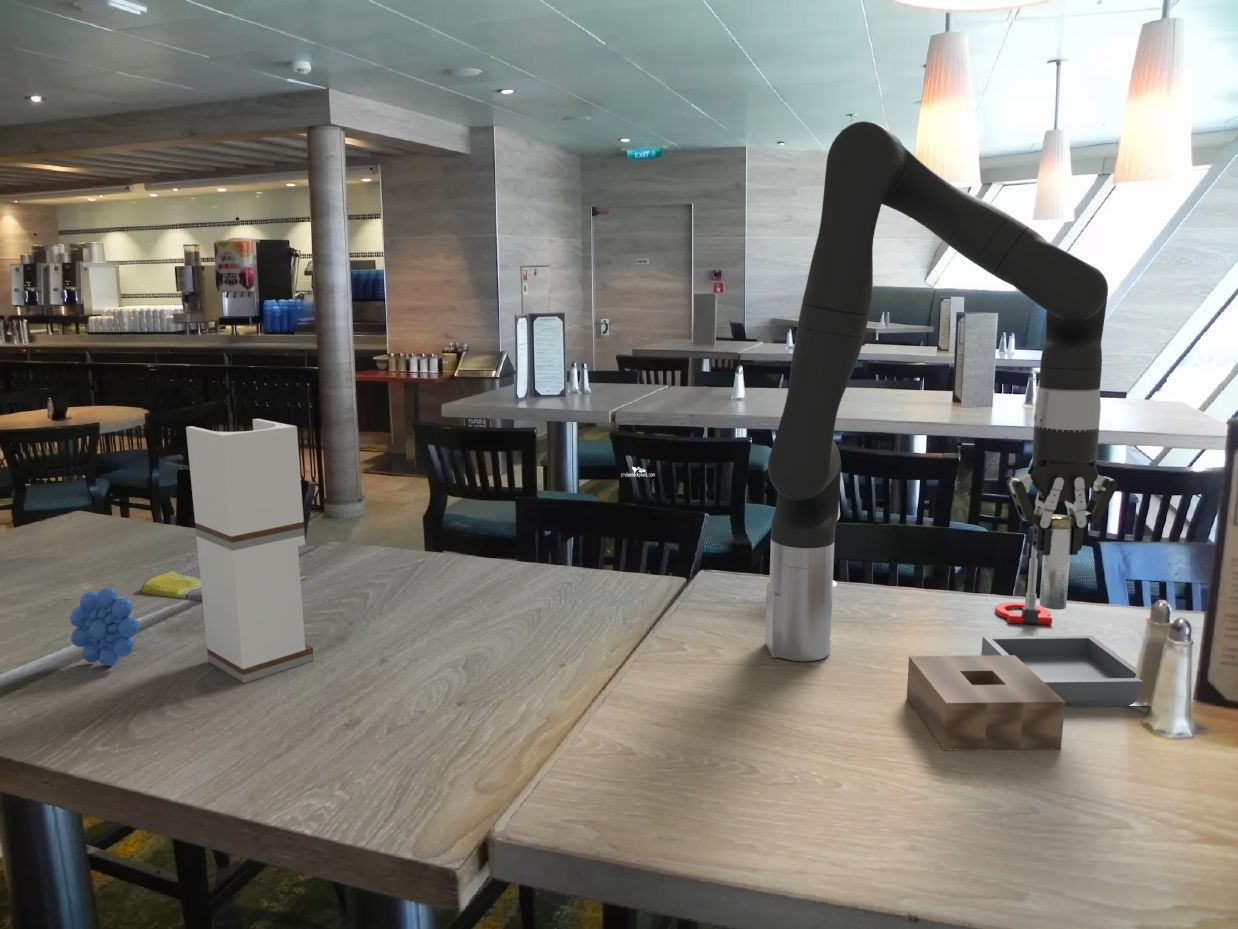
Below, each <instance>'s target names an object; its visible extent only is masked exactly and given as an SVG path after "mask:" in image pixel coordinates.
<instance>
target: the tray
mask: <svg viewBox="0 0 1238 929" xmlns="http://www.w3.org/2000/svg"><path fill="white" fill-rule="evenodd" d="M981 639H982V640H981V652H980V654H981V655H980V656H989V655H1015V656H1016V657H1017V658H1018V659H1019V660H1020V661H1022V662H1023V663H1024V664H1025V665H1026V666H1027V667H1028V668H1029V669H1030V670H1031V671H1032V672H1033V673H1035V674H1036V675H1037V676H1038V677H1039V678H1040V679H1041V680H1042V681H1043V682H1044V683H1045V684H1046V685H1048V686H1049V687H1050V688H1051V689H1052V690H1053V691H1054V692H1055V693H1056V694H1057V695H1058V696H1059V697H1061V698H1062V699H1063V700H1064V701H1065V708H1110V707H1113V708H1115V707H1116V708H1117V707H1125V708H1126V707H1128V706H1129V705H1131V704H1133V703H1134V702H1135V700H1136V699H1137V697H1138V696H1139V693H1140V690H1141V689H1142V688H1141V687H1142V684H1143V681H1142V680H1140V679H1138V678H1135V676H1136V668H1137V667H1135V666H1134V665H1132V664H1131V663H1130V662H1128V661H1127V660H1125V658H1123V657H1122V656H1120V655H1119V654H1117V652H1115V651H1114V650H1113V649H1111V648H1109V647H1108V646H1107V645H1105V644H1104V643H1102V642H1101V641H1100V640H1098V639H1097V638H1096V637H1095V636H1093V635H1027V636H1026V635H1020V636H1019V635H1015V636H1014V635H1013V636H1012V635H1011V636H1008V635H1005V636H1004V635H1002V636H994V635H993V636H982V638H981ZM1137 695H1138V696H1137Z"/></svg>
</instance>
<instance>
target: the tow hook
mask: <svg viewBox="0 0 1238 929" xmlns="http://www.w3.org/2000/svg"><path fill="white" fill-rule="evenodd" d="M1037 556H1038V553H1037V551H1036V549H1034V548H1033V545H1032V546H1031V555H1030V557H1031V558H1029V565H1028V566H1029V567H1028V576H1027V577H1028V578H1027V580H1028V581H1027V590H1026V592H1025V602H1024V603H1023V602H1001V603H999V604H996V605H995V608H994V612H995V613H996V614H997V615H998V616H1000V617H1002V618H1005V619H1006V621H1007V623H1008V624H1017V623H1022V625H1025V624H1031V626H1037V624H1039V625H1041V626H1042V625H1043V626H1052V624H1053V618H1052V616H1051V612H1050V611H1049V610H1048V608H1044V607H1042V606H1040V605H1037V597H1038V596H1037V593H1036V589H1037V576H1038V559H1037ZM1013 608H1022V609H1021V614H1019V613H1016V612H1011V611H1010V610H1014V609H1013ZM1007 609H1009V610H1007ZM1038 613H1039V614H1038ZM1039 625H1038V626H1039Z"/></svg>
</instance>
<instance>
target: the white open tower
mask: <svg viewBox="0 0 1238 929" xmlns="http://www.w3.org/2000/svg"><path fill="white" fill-rule="evenodd" d="M252 427H253V428H252V429H253V430H247V431H246V430H245V431H217V430H216V431H214V430H212V429H211V430H210V429H206V428H202V427H196V426H192V425H190V426H186V427H185V430H186V441H187V450H188V451H187V452H188V462H189V471H190V472H189V473H190V482H191V491H192V492H191V493H192V494H191V495H192V503H193V504H192V505H193V513H194V515H193V516H194V524H195V525H194V526H195V537H196V547H197V557H198V558H197V559H199V569H200V580H201V590H202V611H203V620H204V630H205V642H206V650H207V651H206V652H207V661H208V662H209V663H210V664H211V665H214V666H216V668H219V669H220V670H222V671H224V672H225V673H227V674H228V675H230V676H232V677H233V678H235V679H237V680H239V681H240V682H242V683H243V684H246V683H248V682H251V681H254V680H258V679H261V678H264V677H267V676H270V675H273V674H277V673H280V672H283V671H286V670H289V669H292V668H295V667H299V666H302V665H304V664H308V663H311V662H314V661H315V660H314V647H312V646H310V645H308V644H306V640H305V636H306V635H305V624H304V615H303V614H304V611H303V598H302V587H301V586H302V584H301V581H300V576H301V573H300V569H299V568H300V558H299V557H300V556H299V547H300V546H305V545H306V538H305V537H306V536H305V534H306V533H305V523H304V522H305V521H304V509H303V494H302V492H303V491H302V480H301V479H302V478H301V466H300V454H299V453H300V451H299V439H298V426H296V425H292V424H288V423H287V424H286V423H281V422H278V421H272V420H266V419H263V418H255V419H254V418H252Z"/></svg>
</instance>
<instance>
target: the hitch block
mask: <svg viewBox="0 0 1238 929" xmlns="http://www.w3.org/2000/svg"><path fill="white" fill-rule="evenodd" d="M907 665H908V667H907V668H908V669H907V670H908V671H907V684H906V685H907V686H906V687H907V688H906V700H907V701H908V703H909V704H910V705H911V707H912V709H913V711H915V713H916V714H917V716H918V717H919V718H920V720H921V721H922V722H923V724H924V725H925V727H926V728H927V730H928V731H929V733H930V734H931V735H932V737H933V736H934V737H933V738H934V739H935V740H937V741H936V742H937V743H939V746H940V748H941V747H942V748H941V750H943V749H944V750H943V751H962V750H961V749H965V750H964V751H967V750H966V749H970V750H969V751H972V750H971V749H975V750H974V751H977V750H976V749H982V750H983V749H996V750H1001V749H1002V750H1003V749H1004V751H1006V750H1008V749H1009V750H1061V749H1062V740H1063V731H1064V730H1063V727H1064V718H1065V717H1064V716H1065V708H1066V707H1065V701H1064V700H1063V699H1062V698H1061V697H1059V696H1058V695H1057V694H1056V693H1055V692H1054V691H1053V690H1052V689H1051V688H1050V687H1049V686H1048V685H1046V684H1045V683H1044V682H1043V681H1042V680H1041V679H1040V678H1039V677H1038V676H1037V675H1036V674H1035V673H1033V672H1032V671H1031V670H1030V669H1029V668H1028V667H1027V666H1026V665H1025V664H1024V663H1023V662H1022V661H1020V660H1019V659H1018V658H1017V657H1016V656H1015V655H989V656H981V655H912V656H911V655H909V656H908V664H907ZM946 749H947V750H946ZM948 749H950V750H948ZM951 749H952V750H951ZM954 749H955V750H954ZM956 749H958V750H956ZM959 749H960V750H959ZM982 750H981V751H982ZM1002 750H1001V751H1002ZM983 751H984V750H983Z"/></svg>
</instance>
